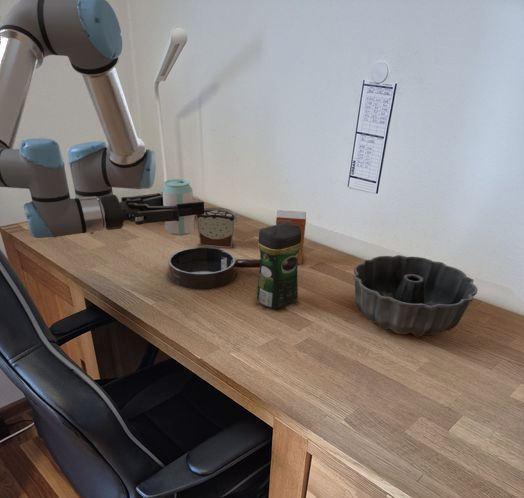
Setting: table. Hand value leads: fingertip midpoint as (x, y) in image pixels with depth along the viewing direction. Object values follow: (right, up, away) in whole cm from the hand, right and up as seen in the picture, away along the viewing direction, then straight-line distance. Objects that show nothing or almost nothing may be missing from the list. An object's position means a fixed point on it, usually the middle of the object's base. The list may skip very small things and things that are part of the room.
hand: (197, 203), depth 112 cm
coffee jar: (+19, -24, -2) cm, 31 cm away
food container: (+2, -4, +27) cm, 27 cm away
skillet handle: (+15, -14, +9) cm, 22 cm away
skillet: (0, -16, +8) cm, 18 cm away
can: (-5, -7, +2) cm, 8 cm away
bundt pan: (+49, -29, -6) cm, 57 cm away
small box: (+23, -10, +19) cm, 32 cm away
